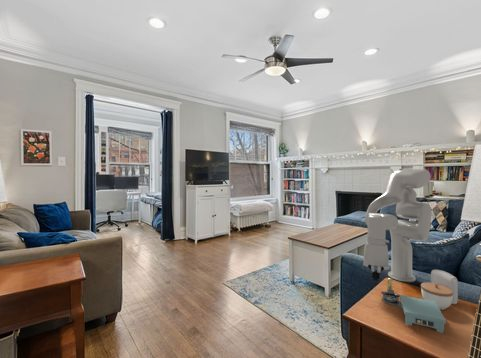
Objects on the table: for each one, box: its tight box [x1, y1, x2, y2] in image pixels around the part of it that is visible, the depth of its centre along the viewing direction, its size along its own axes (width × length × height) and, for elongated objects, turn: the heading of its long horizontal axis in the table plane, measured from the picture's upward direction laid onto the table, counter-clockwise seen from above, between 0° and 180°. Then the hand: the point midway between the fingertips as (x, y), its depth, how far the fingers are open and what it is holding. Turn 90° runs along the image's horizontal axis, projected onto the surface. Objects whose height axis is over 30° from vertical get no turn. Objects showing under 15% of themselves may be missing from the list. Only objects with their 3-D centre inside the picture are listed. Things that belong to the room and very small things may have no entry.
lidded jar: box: [420, 282, 453, 311], centre depth 102 cm, size 11×11×9 cm
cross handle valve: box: [380, 277, 401, 303], centre depth 107 cm, size 10×7×7 cm
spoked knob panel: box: [381, 294, 447, 334], centre depth 97 cm, size 22×18×5 cm
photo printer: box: [430, 269, 459, 305], centre depth 108 cm, size 10×4×12 cm, turn 9°
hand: (375, 279), depth 113 cm, fingers closed
